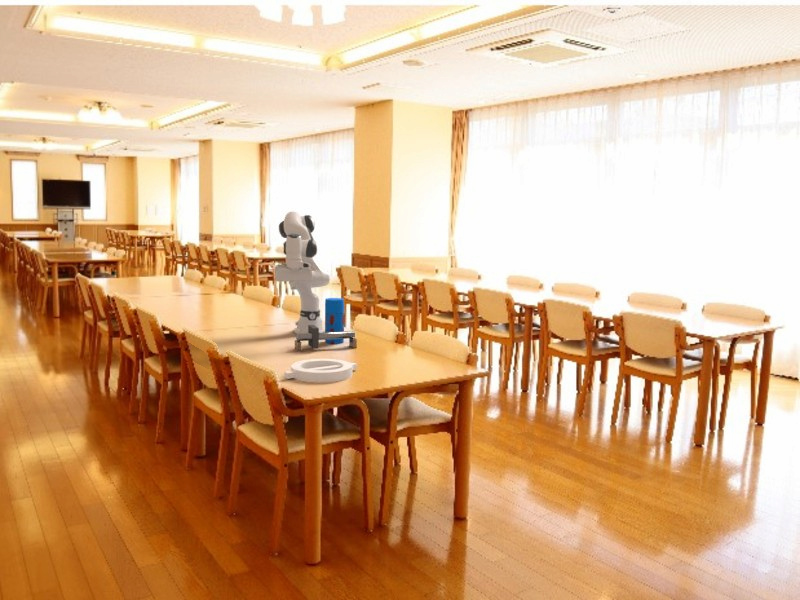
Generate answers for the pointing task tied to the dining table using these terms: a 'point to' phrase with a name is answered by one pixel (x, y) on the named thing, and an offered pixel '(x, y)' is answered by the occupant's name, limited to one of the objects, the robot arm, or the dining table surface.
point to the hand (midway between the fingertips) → (293, 289)
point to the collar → (314, 336)
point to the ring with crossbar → (321, 370)
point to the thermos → (334, 318)
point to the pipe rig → (327, 336)
